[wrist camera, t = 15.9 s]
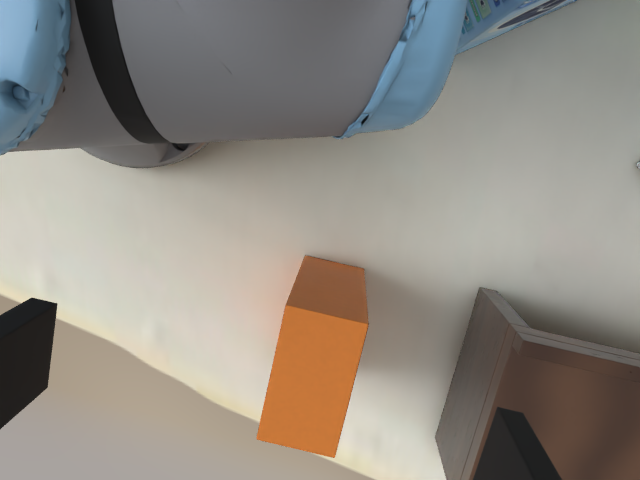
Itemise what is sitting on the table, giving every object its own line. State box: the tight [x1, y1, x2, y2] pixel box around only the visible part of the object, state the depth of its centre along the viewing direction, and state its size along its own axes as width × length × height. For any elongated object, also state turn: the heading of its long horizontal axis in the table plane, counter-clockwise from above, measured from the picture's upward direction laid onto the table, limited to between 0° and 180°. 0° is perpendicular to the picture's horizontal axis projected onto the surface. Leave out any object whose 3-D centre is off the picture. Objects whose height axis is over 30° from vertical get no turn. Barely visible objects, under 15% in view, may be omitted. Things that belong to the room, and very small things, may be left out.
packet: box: [257, 255, 369, 458], centre depth 39 cm, size 5×9×13 cm, turn 168°
